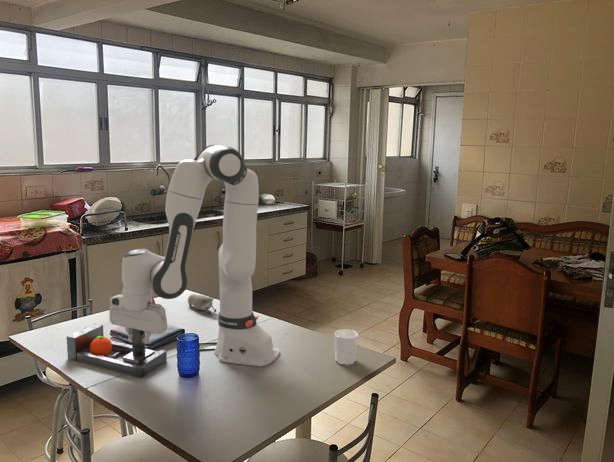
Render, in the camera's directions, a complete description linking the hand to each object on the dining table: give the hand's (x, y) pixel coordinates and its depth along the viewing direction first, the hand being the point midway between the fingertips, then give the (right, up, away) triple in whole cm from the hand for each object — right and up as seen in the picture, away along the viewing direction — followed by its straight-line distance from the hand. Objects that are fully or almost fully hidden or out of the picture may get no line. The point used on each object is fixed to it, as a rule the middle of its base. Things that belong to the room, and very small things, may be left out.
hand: (138, 341), depth 162 cm
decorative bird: (+9, +1, +54) cm, 54 cm away
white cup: (+67, -9, +11) cm, 68 cm away
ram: (0, -8, +2) cm, 8 cm away
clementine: (-15, -7, +7) cm, 18 cm away
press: (-9, -7, +5) cm, 12 cm away
